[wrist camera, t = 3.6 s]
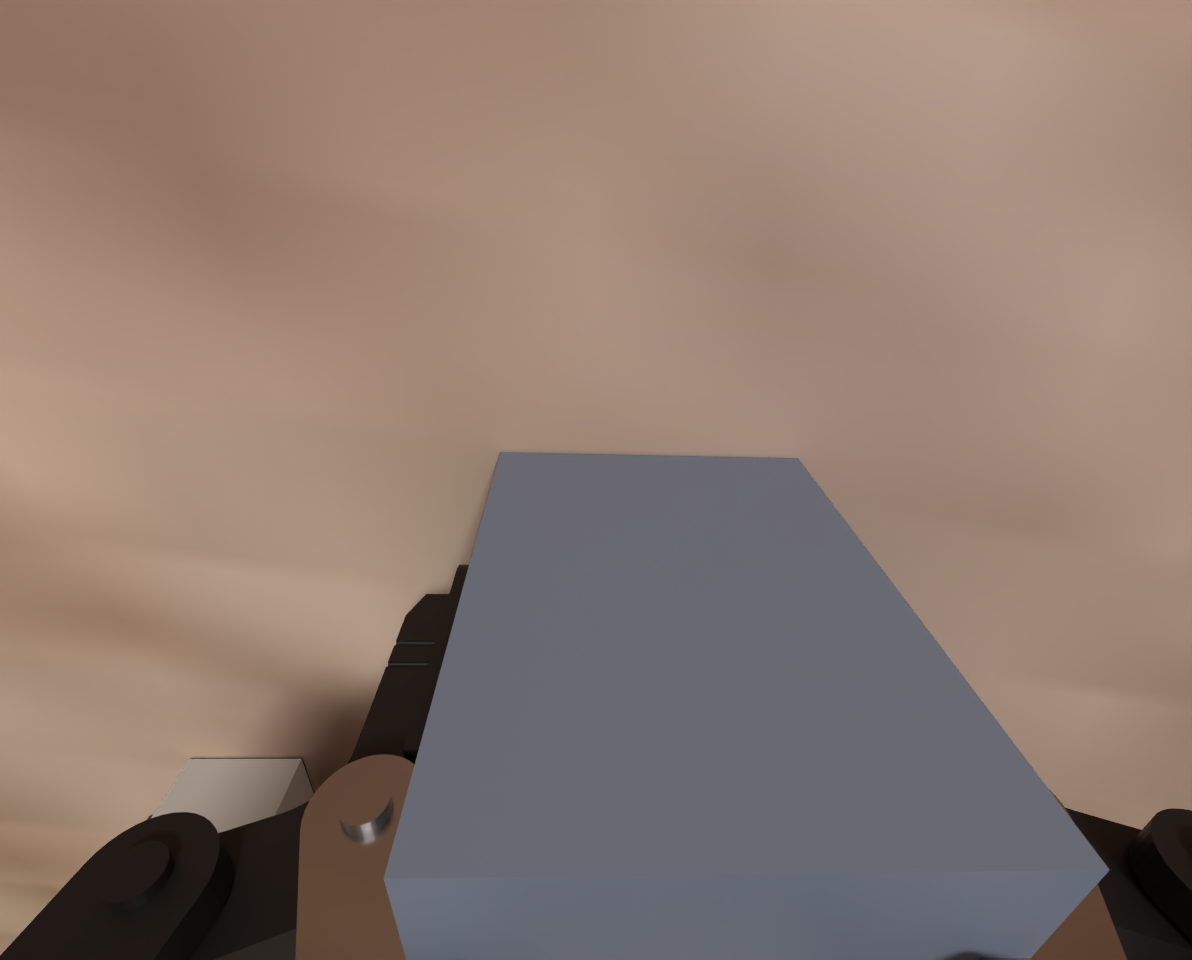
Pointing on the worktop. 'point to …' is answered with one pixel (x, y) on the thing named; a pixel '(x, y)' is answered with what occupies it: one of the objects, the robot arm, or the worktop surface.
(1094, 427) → the worktop surface
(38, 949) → the robot arm
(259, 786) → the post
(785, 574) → the blue-grey block
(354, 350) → the worktop surface
